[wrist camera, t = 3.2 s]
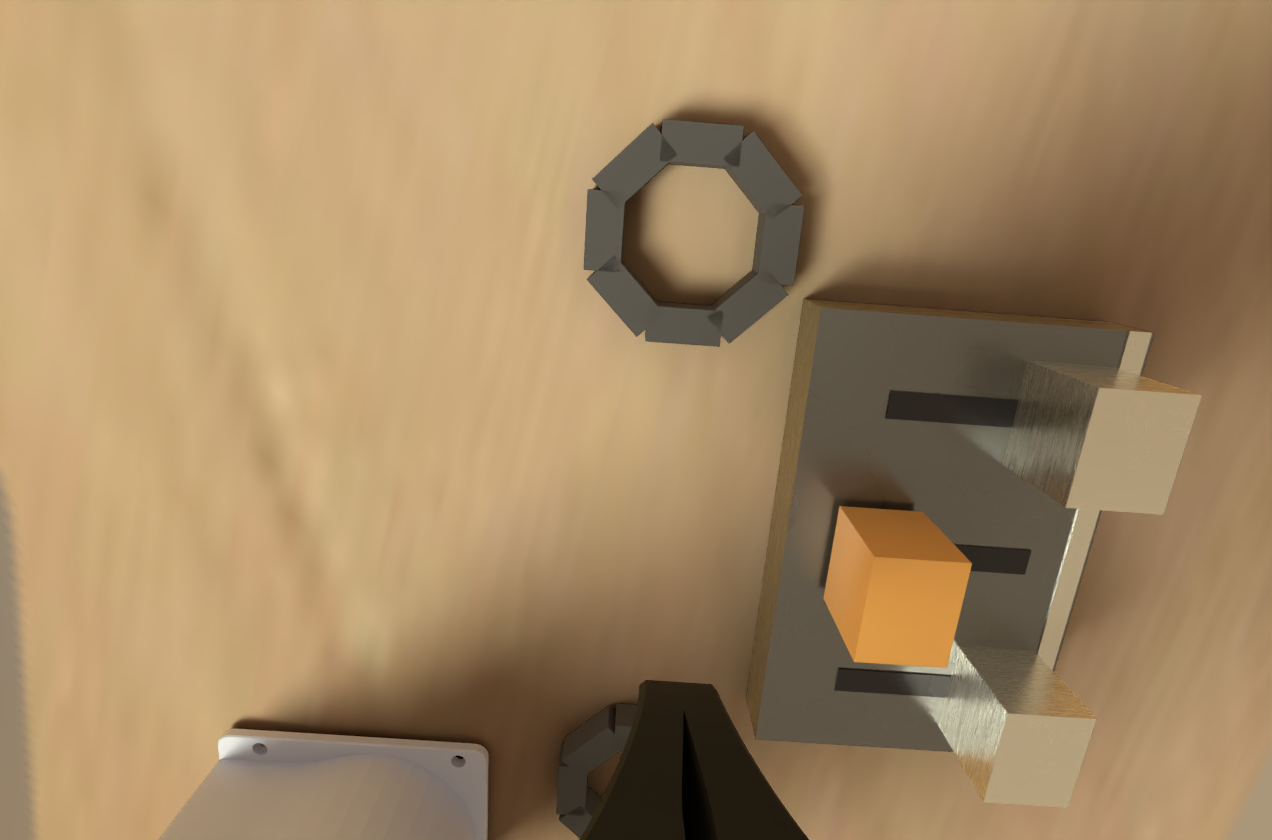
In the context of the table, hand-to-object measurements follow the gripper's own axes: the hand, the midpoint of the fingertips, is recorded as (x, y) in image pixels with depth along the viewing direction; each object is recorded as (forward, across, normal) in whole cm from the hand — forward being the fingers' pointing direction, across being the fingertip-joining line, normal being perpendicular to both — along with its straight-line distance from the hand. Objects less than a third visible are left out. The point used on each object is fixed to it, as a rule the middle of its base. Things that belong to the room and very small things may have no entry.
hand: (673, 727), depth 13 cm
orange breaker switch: (+7, -6, 0) cm, 10 cm away
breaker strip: (+10, -8, 0) cm, 13 cm away
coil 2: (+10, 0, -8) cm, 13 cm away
